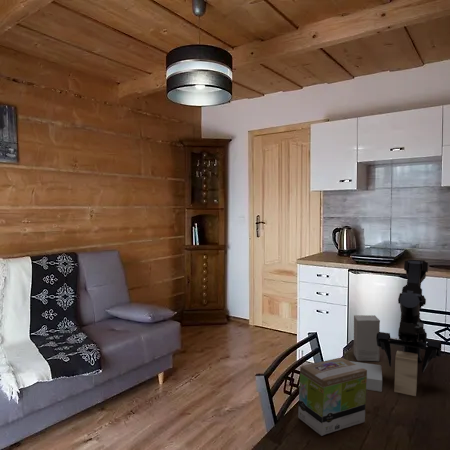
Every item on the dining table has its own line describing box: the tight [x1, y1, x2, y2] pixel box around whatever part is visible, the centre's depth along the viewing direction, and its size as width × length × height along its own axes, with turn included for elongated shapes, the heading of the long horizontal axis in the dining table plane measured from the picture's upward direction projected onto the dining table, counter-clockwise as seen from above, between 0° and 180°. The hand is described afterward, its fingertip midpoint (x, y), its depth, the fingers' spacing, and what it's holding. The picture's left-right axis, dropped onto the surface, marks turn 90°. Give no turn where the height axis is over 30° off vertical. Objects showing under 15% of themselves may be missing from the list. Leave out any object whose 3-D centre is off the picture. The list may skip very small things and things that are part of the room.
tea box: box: [297, 356, 367, 437], centre depth 107 cm, size 15×10×15 cm
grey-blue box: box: [349, 360, 383, 393], centre depth 131 cm, size 12×12×4 cm
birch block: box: [393, 350, 419, 397], centre depth 124 cm, size 6×6×11 cm
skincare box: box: [353, 314, 381, 362], centre depth 149 cm, size 8×7×16 cm
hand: (406, 369), depth 123 cm, fingers open, 9 cm apart
